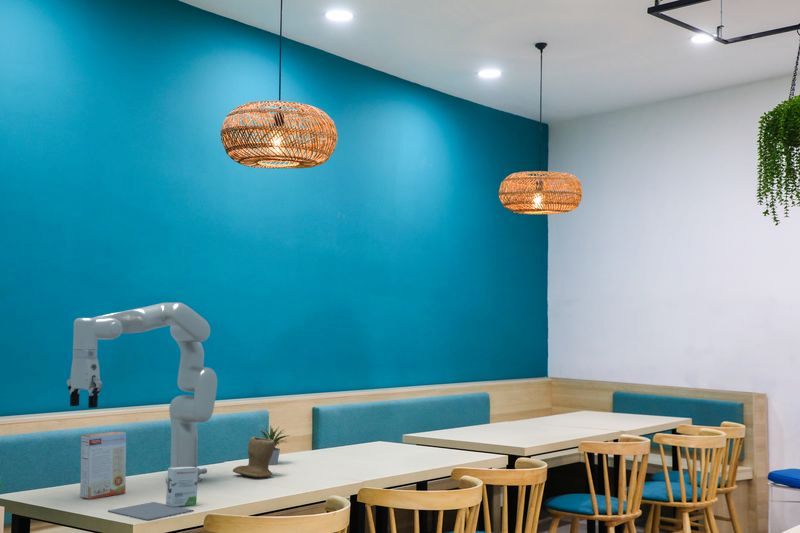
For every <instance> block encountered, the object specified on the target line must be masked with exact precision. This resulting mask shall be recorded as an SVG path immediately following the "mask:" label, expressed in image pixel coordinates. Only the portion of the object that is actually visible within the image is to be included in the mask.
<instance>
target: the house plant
mask: <svg viewBox="0 0 800 533" xmlns="http://www.w3.org/2000/svg"><path fill="white" fill-rule="evenodd" d="M279 428H280V426H278V427H277V428H276V429H275V430H274V428H273V427H272V425H270V427H269V431H268V430H267V429H266V428H264V429H262V430H260V433H261V434H262V438H265V439H270V440H273V441H274V443H275V447H274V451H273V454H272V457H271V459H270V461H269V464H268V466H276V465H278V462H279V456H280V451H281V449H280V448H276V446H277V447H278V446H279V445H280V444H281V443H287V441H288V439H283V438H286V437H287V435H282V434H283V433H285V429H284V428H283V429H281V430H280V431H279V432H278V429H279ZM264 430H265V431H264ZM277 432H278V433H277ZM276 433H277V435H276ZM280 435H282V436H280ZM288 437H291V435H288ZM281 439H283V440H281ZM286 440H287V441H286Z"/></svg>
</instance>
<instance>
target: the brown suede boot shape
mask: <svg viewBox="0 0 800 533" xmlns="http://www.w3.org/2000/svg"><path fill="white" fill-rule="evenodd" d="M274 447H275V448H276V446H275V443H274V439H273V440H270V439H266V438H264V437H260V436H258V437H257V436H251V438H250V439H249V440H248V445H247V455H248V465H238V466H236V467H234V468H233V469H232V472H233V473H235V474H238V475H243V476H246V477H249V478H266V477H267V478H268V477H271V476H273V474H274V473H273V472H272V471H271V470H270V469H269V465H268V464H269V461H270V459H271V457H272V454H273V451H274Z"/></svg>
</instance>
